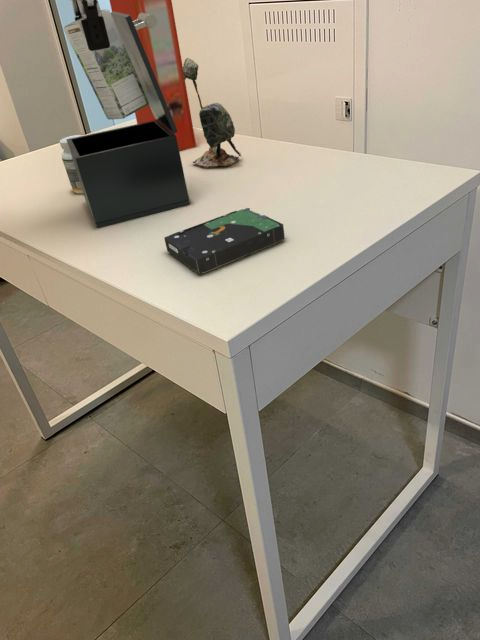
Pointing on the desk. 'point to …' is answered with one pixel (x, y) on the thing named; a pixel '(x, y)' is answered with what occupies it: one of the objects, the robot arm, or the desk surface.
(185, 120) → the file binder
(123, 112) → the syrup box
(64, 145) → the pill bottle
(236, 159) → the plant with pod
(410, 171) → the desk surface
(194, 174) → the desk surface
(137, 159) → the bin
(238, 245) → the disk drive
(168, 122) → the bin lid
